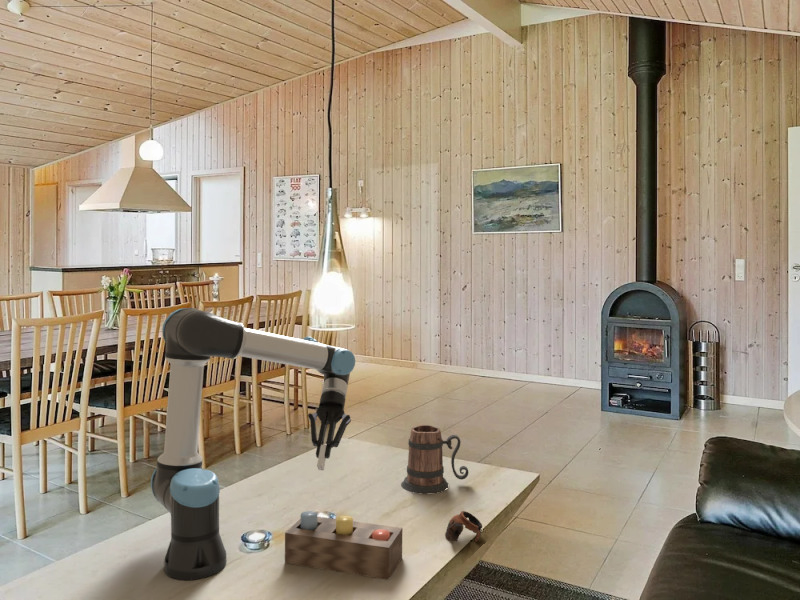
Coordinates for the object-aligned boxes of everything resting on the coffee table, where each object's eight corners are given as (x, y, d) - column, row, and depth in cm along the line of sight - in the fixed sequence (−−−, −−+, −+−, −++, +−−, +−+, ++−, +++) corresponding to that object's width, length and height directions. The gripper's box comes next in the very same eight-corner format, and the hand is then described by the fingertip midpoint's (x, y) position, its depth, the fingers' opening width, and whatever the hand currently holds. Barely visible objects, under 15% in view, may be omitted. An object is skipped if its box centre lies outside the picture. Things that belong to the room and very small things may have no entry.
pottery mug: (450, 529, 184) (465, 506, 184) (475, 551, 180) (490, 528, 179) (432, 534, 174) (448, 509, 174) (458, 558, 169) (474, 532, 169)
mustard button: (333, 538, 162) (333, 521, 162) (339, 531, 166) (339, 514, 166) (349, 540, 161) (349, 523, 160) (355, 533, 165) (355, 516, 165)
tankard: (401, 493, 211) (402, 435, 210) (400, 476, 228) (401, 422, 226) (471, 494, 211) (472, 435, 210) (465, 477, 228) (466, 422, 227)
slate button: (297, 533, 165) (297, 516, 164) (304, 526, 169) (304, 510, 169) (313, 535, 163) (313, 518, 163) (320, 528, 168) (320, 512, 167)
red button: (369, 552, 159) (370, 535, 159) (375, 545, 164) (375, 528, 163) (386, 555, 158) (386, 537, 158) (391, 547, 162) (391, 530, 162)
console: (284, 563, 162) (284, 532, 161) (304, 543, 173) (304, 514, 173) (388, 579, 154) (389, 547, 154) (402, 557, 166) (402, 527, 165)
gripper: (356, 403, 193) (345, 475, 178) (314, 402, 195) (300, 473, 179) (353, 390, 188) (341, 462, 172) (310, 388, 189) (295, 460, 174)
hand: (320, 467), depth 176 cm, fingers closed
